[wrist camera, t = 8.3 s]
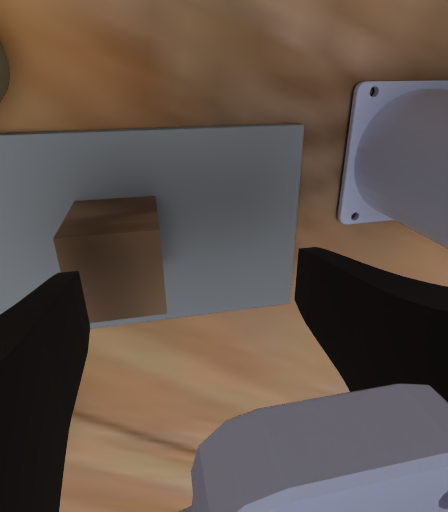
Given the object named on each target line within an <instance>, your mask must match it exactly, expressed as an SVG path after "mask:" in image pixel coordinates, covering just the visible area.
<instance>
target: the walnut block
mask: <svg viewBox="0 0 448 512" xmlns="http://www.w3.org/2000/svg"><path fill="white" fill-rule="evenodd" d="M53 241H54V246H55V250H56V254H57V259H58V263H59V267H60V272H70V271H79V274H80V279H81V284H82V289H83V293H84V298H85V303H86V308H87V313H88V317H89V322H90V323H96V322H104V321H112V320H120V319H128V318H136V317H145V316H153V315H161V314H167V304H166V293H165V282H164V271H163V260H162V249H161V238H160V228H159V220H158V213H157V205H156V197H155V196H143V197H128V198H112V199H97V200H81V201H74V203H73V204H72V206H71V208H70V210H69V211H68V213H67V215H66V217H65V218H64V220H63V222H62V224H61V225H60V227H59V229H58V231H57V232H56V234H55V236H54V238H53Z"/></svg>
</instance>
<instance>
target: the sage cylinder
mask: <svg viewBox="0 0 448 512" xmlns="http://www.w3.org/2000/svg"><path fill="white" fill-rule="evenodd" d="M9 76H10V73H9V64H8V59H7V56H6V53H5V51H4V48H3V46H2V44H1V42H0V101H1V100H2V99H3V97H4V95H5V93H6V91H7V88H8V84H9Z"/></svg>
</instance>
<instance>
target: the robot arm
mask: <svg viewBox="0 0 448 512" xmlns="http://www.w3.org/2000/svg"><path fill="white" fill-rule="evenodd" d="M372 87H374V90H375V92H374V94H373V95H372V96H370V90H371V88H372ZM355 212H356V215H355V217H354V218H351V216H352V214H353V213H355ZM338 220H339V221H340V222H341V223H342V224H358V223H369V222H380V221H391V220H395V221H397V222H399V223H401V224H403V225H405V226H407V227H408V228H410V229H412V230H414V231H416V232H418V233H420V234H421V235H423V236H425V237H427V238H429V239H431V240H433V241H434V242H436V243H438V244H440V245H442V246H444V247H446V248H448V80H445V81H366V82H360V83H359V84H357V86H356V87H355V89H354V94H353V101H352V109H351V117H350V124H349V132H348V140H347V147H346V155H345V162H344V170H343V178H342V185H341V193H340V201H339V208H338ZM295 302H296V304H297V306H298V308H299V311H300V313H301V315H302V317H303V319H304V321H305V323H306V324H307V326H308V327H309V329H310V330H311V332H312V333H313V335H314V336H315V338H316V339H317V341H318V342H319V344H320V345H321V347H322V348H323V350H324V351H325V353H326V354H327V355H328V357H329V358H330V360H331V361H332V363H333V364H334V366H335V367H336V369H337V370H338V372H339V373H340V375H341V376H342V378H343V380H344V381H345V383H346V385H347V387H348V389H349V391H350V392H348V393H342V394H337V395H331V396H325V397H320V398H314V399H309V400H303V401H298V402H292V403H286V404H281V405H275V406H270V407H264V408H259V409H255V410H253V411H250V412H247V413H245V414H242V415H239V416H237V417H234V418H231V419H229V420H226V421H225V422H224V423H223V424H222V425H221V426H220V427H219V428H218V429H216V430H215V431H214V432H213V433H212V434H211V435H210V436H209V437H208V438H207V439H206V440H204V441H203V442H202V443H201V444H200V445H199V447H198V451H197V454H196V457H195V460H194V463H193V467H192V470H191V475H192V487H193V500H192V506H190V507H188V508H186V509H183V510H181V511H179V512H448V287H445V286H440V285H436V284H431V283H427V282H423V281H419V280H415V279H411V278H407V277H403V276H400V275H397V274H394V273H390V272H387V271H384V270H381V269H378V268H375V267H372V266H370V265H367V264H364V263H361V262H359V261H356V260H353V259H351V258H348V257H345V256H343V255H340V254H337V253H335V252H332V251H329V250H326V249H322V248H318V247H311V248H301V249H299V253H298V265H297V277H296V288H295ZM89 333H90V322H89V317H88V313H87V308H86V303H85V298H84V293H83V289H82V284H81V279H80V274H79V271H70V272H60V273H57V274H55V275H53V276H52V277H50V278H49V279H48V280H46V281H45V282H44V283H42V284H41V285H40V286H39V287H37V288H36V289H35V290H33V291H32V292H31V293H29V294H28V295H27V296H25V297H24V298H23V299H22V300H20V301H19V302H18V303H16V304H15V305H13V306H12V307H10V308H9V309H8V310H6V311H5V312H3V313H2V314H0V512H59V506H60V497H61V488H62V479H63V471H64V462H65V455H66V448H67V440H68V433H69V427H70V422H71V417H72V413H73V409H74V405H75V401H76V397H77V393H78V389H79V385H80V381H81V377H82V373H83V369H84V365H85V361H86V357H87V353H88V344H89Z"/></svg>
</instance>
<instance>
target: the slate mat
mask: <svg viewBox="0 0 448 512" xmlns="http://www.w3.org/2000/svg"><path fill="white" fill-rule="evenodd" d="M303 136H304V125H303V124H299V123H282V124H253V125H223V126H194V127H164V128H135V129H105V130H76V131H46V132H17V133H0V314H2V313H3V312H5V311H6V310H8V309H9V308H10V307H12V306H13V305H15V304H16V303H18V302H19V301H20V300H22V299H23V298H24V297H25V296H27V295H28V294H29V293H31V292H32V291H33V290H35V289H36V288H37V287H39V286H40V285H41V284H42V283H44V282H45V281H46V280H48V279H49V278H50V277H52V276H53V275H55V274H57V273H60V267H59V263H58V259H57V254H56V250H55V246H54V241H53V238H54V236H55V234H56V232H57V231H58V229H59V227H60V225H61V224H62V222H63V220H64V218H65V217H66V215H67V213H68V211H69V210H70V208H71V206H72V204H73V203H74V201H81V200H97V199H112V198H128V197H143V196H155V197H156V205H157V213H158V220H159V228H160V238H161V249H162V260H163V271H164V282H165V293H166V304H167V314H161V315H153V316H145V317H136V318H128V319H120V320H112V321H104V322H96V323H90V329H93V328H100V327H108V326H116V325H124V324H132V323H140V322H147V321H155V320H163V319H171V318H179V317H187V316H194V315H202V314H210V313H218V312H226V311H234V310H242V309H249V308H257V307H265V306H273V305H281V304H289V303H290V298H291V286H292V273H293V261H294V248H295V236H296V223H297V211H298V198H299V186H300V173H301V161H302V148H303Z"/></svg>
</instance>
